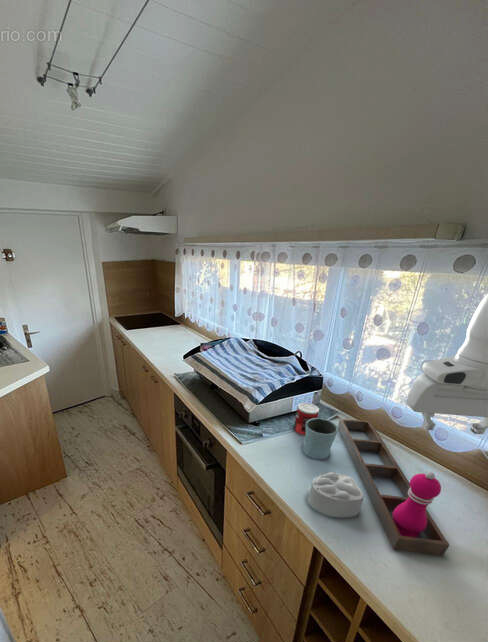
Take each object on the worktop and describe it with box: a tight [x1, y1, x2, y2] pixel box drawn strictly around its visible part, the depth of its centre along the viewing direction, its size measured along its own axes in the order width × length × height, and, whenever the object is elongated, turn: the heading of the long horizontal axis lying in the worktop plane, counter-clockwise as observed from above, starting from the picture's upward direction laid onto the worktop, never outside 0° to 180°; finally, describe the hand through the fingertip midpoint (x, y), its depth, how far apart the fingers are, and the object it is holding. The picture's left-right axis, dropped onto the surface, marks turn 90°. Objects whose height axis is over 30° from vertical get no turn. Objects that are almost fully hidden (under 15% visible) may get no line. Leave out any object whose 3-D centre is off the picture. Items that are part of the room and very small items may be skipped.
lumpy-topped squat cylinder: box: [307, 471, 365, 518], centre depth 87 cm, size 10×13×9 cm
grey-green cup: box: [302, 417, 339, 460], centre depth 107 cm, size 10×10×12 cm
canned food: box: [293, 402, 320, 436], centre depth 119 cm, size 8×8×11 cm
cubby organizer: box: [337, 418, 450, 557], centre depth 97 cm, size 11×55×5 cm, turn 170°
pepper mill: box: [391, 471, 442, 538], centre depth 76 cm, size 7×7×20 cm
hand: (451, 430), depth 66 cm, fingers open, 8 cm apart
